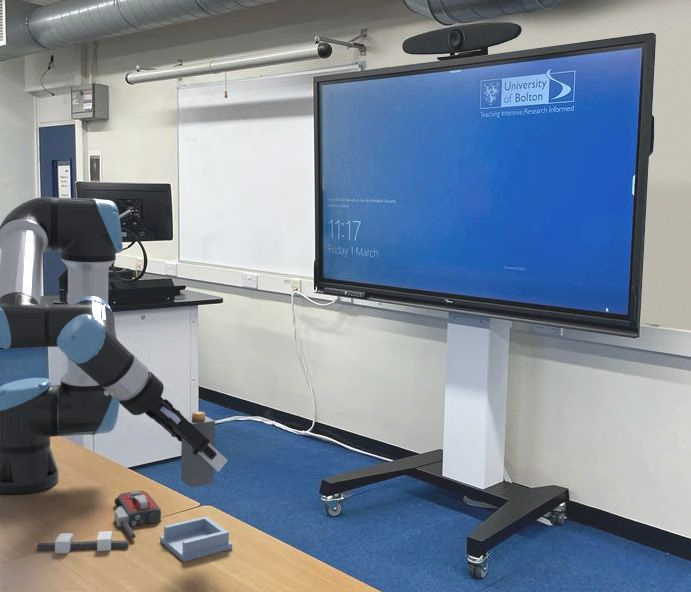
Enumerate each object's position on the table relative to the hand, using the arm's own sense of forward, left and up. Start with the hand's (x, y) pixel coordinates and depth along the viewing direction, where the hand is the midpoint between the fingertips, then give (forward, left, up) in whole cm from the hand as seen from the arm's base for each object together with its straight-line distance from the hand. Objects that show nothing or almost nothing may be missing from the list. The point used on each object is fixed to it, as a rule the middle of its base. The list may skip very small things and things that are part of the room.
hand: (215, 461), depth 146 cm
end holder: (0, -4, -16) cm, 16 cm away
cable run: (-10, -22, -16) cm, 29 cm away
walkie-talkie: (-17, -8, -16) cm, 25 cm away
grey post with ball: (0, -4, -3) cm, 5 cm away
